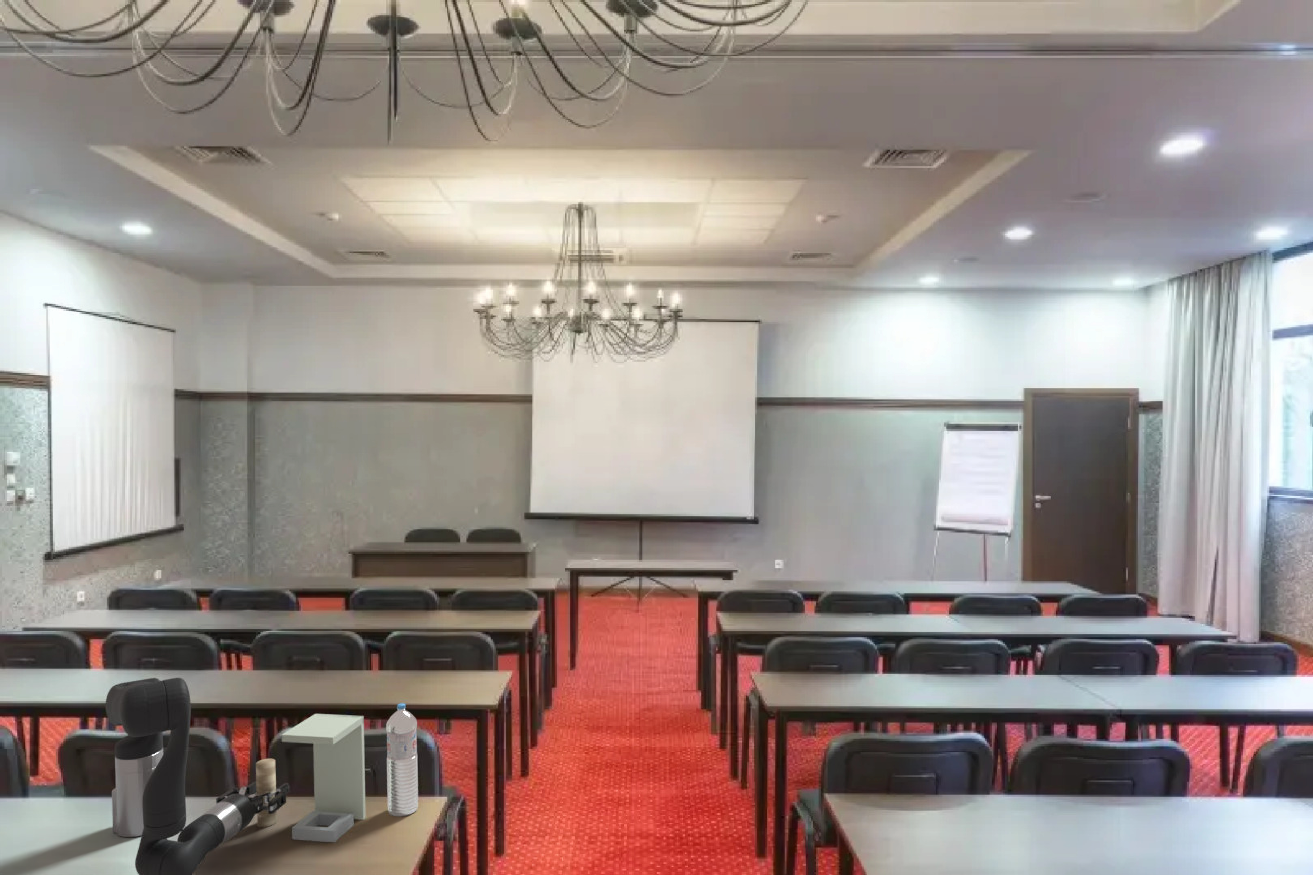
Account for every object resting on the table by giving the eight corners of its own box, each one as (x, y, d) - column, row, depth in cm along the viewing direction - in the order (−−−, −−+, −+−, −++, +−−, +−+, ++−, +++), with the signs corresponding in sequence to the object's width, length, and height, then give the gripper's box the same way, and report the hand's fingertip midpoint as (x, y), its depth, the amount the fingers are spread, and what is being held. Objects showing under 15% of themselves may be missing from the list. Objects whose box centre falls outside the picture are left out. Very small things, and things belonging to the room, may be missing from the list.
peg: (253, 826, 190) (252, 765, 189) (264, 818, 194) (262, 758, 193) (269, 828, 189) (268, 766, 189) (280, 819, 193) (278, 759, 193)
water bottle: (409, 818, 193) (407, 710, 192) (382, 816, 194) (380, 708, 194) (423, 805, 200) (421, 700, 199) (396, 802, 201) (395, 698, 200)
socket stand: (283, 842, 183) (281, 734, 182) (317, 814, 195) (315, 713, 195) (335, 846, 181) (333, 737, 180) (365, 817, 194) (363, 716, 193)
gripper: (255, 804, 176) (301, 771, 192) (193, 800, 178) (243, 768, 195) (256, 840, 176) (301, 804, 192) (194, 835, 178) (244, 800, 195)
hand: (272, 786), depth 193 cm, fingers open, 7 cm apart
